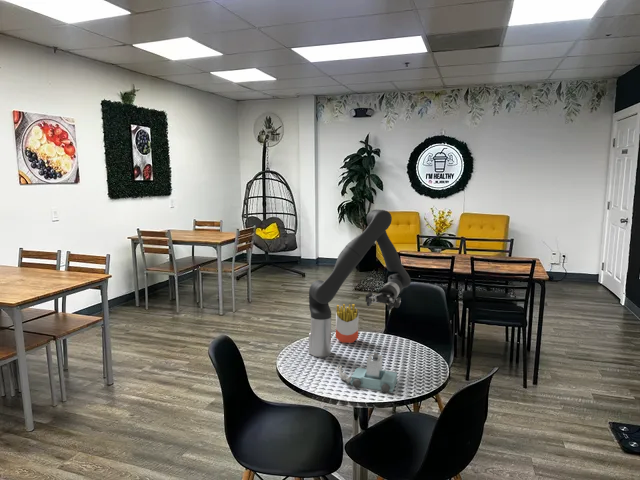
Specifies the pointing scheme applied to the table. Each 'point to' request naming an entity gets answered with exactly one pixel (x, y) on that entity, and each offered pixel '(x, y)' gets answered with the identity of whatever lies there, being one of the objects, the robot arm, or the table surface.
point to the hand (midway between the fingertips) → (378, 306)
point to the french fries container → (347, 324)
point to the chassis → (374, 380)
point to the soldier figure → (343, 375)
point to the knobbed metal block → (374, 366)
